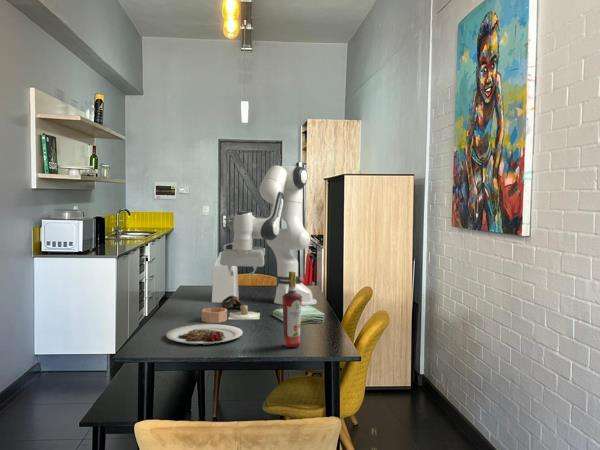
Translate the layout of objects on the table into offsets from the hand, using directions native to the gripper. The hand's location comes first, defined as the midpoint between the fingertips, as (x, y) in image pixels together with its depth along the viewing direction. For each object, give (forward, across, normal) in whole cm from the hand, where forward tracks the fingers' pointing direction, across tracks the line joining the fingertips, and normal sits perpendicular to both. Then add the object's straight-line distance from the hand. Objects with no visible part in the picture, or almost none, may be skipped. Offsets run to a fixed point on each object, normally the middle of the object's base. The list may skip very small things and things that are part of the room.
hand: (242, 276), depth 259 cm
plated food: (+21, +11, +36) cm, 43 cm away
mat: (+19, -2, -1) cm, 19 cm away
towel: (+19, -27, +3) cm, 33 cm away
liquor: (+20, -24, +50) cm, 58 cm away
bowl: (+20, +11, +8) cm, 24 cm away
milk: (+19, +12, -42) cm, 48 cm away
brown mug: (+19, +6, -17) cm, 26 cm away
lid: (+19, -2, 0) cm, 19 cm away
